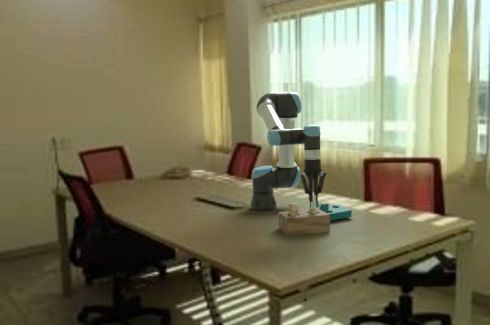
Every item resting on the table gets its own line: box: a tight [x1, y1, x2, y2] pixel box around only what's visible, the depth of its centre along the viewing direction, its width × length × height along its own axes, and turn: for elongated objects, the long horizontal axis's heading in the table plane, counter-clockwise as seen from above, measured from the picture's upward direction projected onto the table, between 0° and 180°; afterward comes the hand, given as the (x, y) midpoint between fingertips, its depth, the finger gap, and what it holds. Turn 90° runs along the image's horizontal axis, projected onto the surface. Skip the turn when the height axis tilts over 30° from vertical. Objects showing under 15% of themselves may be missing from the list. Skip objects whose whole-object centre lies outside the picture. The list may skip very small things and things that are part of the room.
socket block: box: [278, 208, 331, 237], centre depth 248 cm, size 14×20×8 cm
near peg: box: [288, 202, 299, 216], centre depth 246 cm, size 4×4×8 cm
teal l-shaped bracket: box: [309, 200, 353, 222], centre depth 267 cm, size 18×11×10 cm, turn 117°
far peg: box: [308, 207, 318, 214], centre depth 249 cm, size 4×4×8 cm
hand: (313, 208), depth 248 cm, fingers closed
